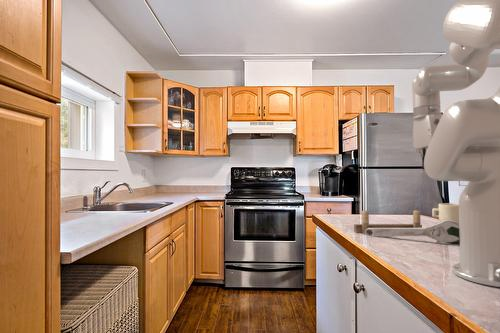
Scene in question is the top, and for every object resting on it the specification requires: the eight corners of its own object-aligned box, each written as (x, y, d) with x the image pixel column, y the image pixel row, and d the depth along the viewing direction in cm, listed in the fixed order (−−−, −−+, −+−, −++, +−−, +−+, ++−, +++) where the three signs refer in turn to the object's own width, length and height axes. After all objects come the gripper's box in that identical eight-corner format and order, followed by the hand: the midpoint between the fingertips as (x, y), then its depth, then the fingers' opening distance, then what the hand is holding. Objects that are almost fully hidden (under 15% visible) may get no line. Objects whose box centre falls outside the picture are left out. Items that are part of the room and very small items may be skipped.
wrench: (367, 242, 106) (464, 244, 90) (366, 243, 104) (464, 245, 88) (364, 221, 107) (460, 219, 90) (363, 222, 105) (460, 220, 89)
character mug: (471, 242, 94) (470, 204, 94) (472, 246, 88) (471, 206, 88) (433, 237, 100) (432, 202, 101) (432, 241, 95) (431, 204, 95)
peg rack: (426, 234, 106) (426, 211, 106) (359, 234, 106) (358, 211, 107) (418, 231, 111) (418, 209, 111) (354, 231, 112) (353, 209, 112)
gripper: (455, 107, 82) (458, 168, 81) (423, 119, 97) (425, 170, 96) (430, 107, 82) (433, 168, 81) (402, 119, 97) (404, 170, 96)
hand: (428, 169), depth 88 cm, fingers closed
